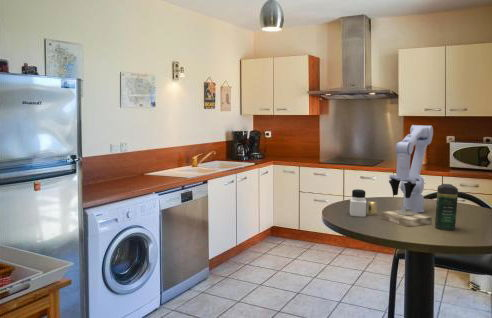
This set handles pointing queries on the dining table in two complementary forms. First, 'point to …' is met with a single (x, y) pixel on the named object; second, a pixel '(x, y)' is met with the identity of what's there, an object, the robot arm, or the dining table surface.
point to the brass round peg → (372, 208)
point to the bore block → (406, 218)
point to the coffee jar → (446, 207)
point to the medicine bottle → (358, 203)
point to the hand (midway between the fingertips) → (401, 196)
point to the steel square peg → (405, 211)
